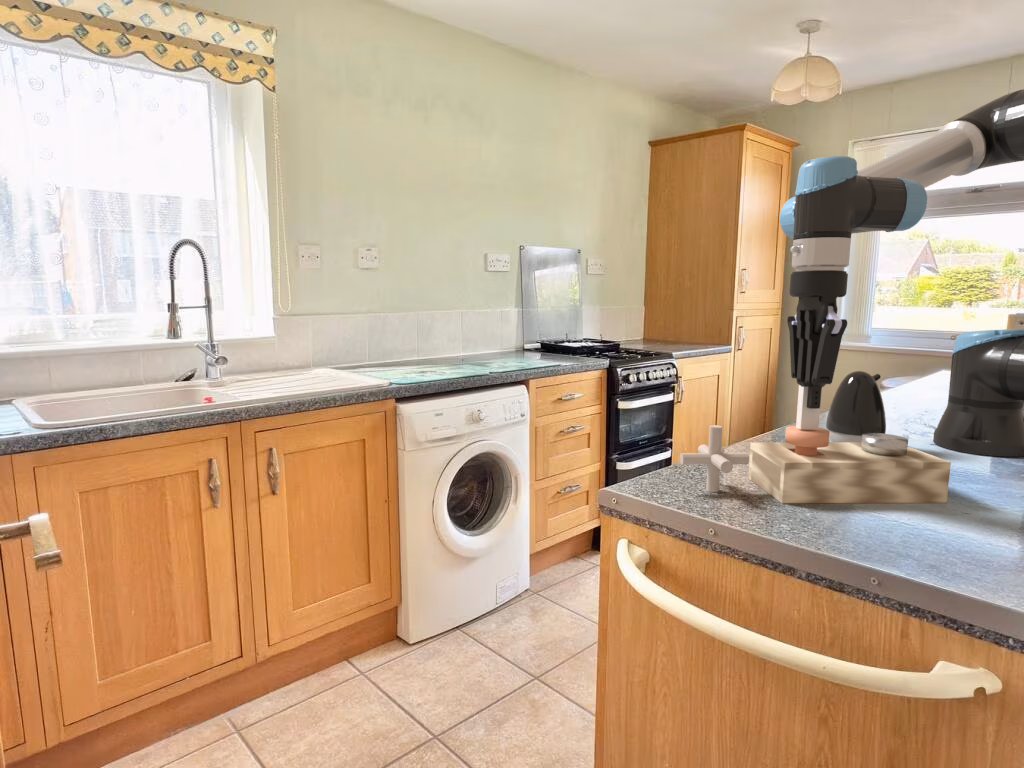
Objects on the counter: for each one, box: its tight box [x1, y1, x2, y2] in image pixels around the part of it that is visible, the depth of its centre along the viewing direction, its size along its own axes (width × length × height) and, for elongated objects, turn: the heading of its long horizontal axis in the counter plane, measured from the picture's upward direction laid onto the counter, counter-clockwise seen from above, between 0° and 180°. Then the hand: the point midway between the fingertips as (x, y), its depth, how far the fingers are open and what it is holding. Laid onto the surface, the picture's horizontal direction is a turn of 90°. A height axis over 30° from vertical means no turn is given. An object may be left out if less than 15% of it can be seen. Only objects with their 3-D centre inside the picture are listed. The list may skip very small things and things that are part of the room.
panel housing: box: [748, 441, 952, 504], centre depth 94 cm, size 24×12×6 cm, turn 91°
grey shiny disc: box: [861, 433, 909, 455], centre depth 94 cm, size 6×6×8 cm
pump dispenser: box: [825, 370, 887, 442], centre depth 119 cm, size 10×10×15 cm
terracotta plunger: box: [784, 425, 830, 455], centre depth 93 cm, size 6×6×8 cm
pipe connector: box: [679, 424, 750, 493], centre depth 93 cm, size 10×10×10 cm
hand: (807, 428), depth 93 cm, fingers closed
